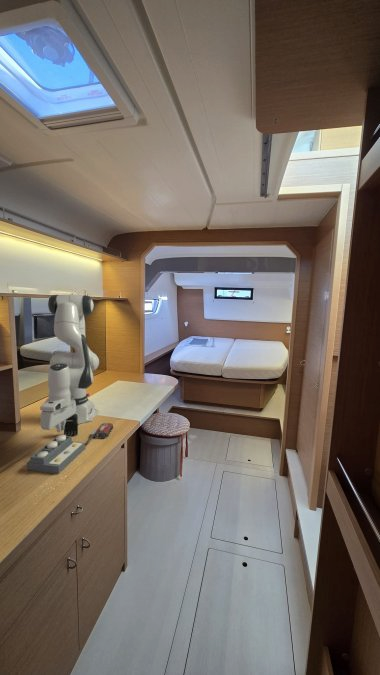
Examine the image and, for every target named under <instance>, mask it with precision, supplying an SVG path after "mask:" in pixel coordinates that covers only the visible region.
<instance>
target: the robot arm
mask: <svg viewBox="0 0 380 675" xmlns="http://www.w3.org/2000/svg"><path fill="white" fill-rule="evenodd" d="M48 298H49V299H48V301H47V302H48V303H47V308H48V310H49V312H50V314H52V315H54V322H53V323H54V324H53V331H54V332H53V334H54V336H55V337H56V339H58V340H59V341H60V342H62V343H65V344H66V345H67V346H69V347H71V348H73V350H74V351H75V352H60V353H55V354H53V355H52V356H51V358H50V360H49V369H48V375H47V387H48V398H46V399H45V401H44V402H43V403H42V404H41V405H40V407H39V409H40V410H39V411H41V413H40V427H41V429H42V430H44V431H51V430H52V429H53V428H56V432H57V433H61V432H62V431H63V432H64V426H65V423H66V419H68V418H69V417H71V416H72V415H74V414H75V413H77V414H78V425H80V424H84V423H89V422H92V421H93V420H94V419H93V418H96V416H97V415H98V414H99V412H100V410H99V409H97V408H96V406H95V403H94V402H92V401H91V400H90V399H89V398H90V397H91V393H90V392H89V393H88V392H87V389H88V388H90V387H91V386H92V385H93V383H94V373H93V372H94V371H96V370H97V369H98V368H99V365H100V359H99V357H98V355H97V354H96V353H94V351H92V350H91V349H90V347H89V346H88V341H87V339H86V338H87V337H86V321H85V318H87V317H88V316H90V315H91V314H92V313H93V311H94V310H93V309H94V306H95V305H94V301H93V298H92V297H91V296H89V295H86V294H85V295H82V294H81V295H80V294H74V293H73V294H72V293H71V294H53V295H51V296H50V297H48ZM98 411H99V412H98ZM97 413H98V414H97ZM96 414H97V415H96Z"/></svg>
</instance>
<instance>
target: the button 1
mask: <svg viewBox="0 0 380 675" xmlns="http://www.w3.org/2000/svg"><path fill="white" fill-rule="evenodd" d="M47 454H48V452H47V451H43V452H40V453H38V454H37V457H45V456H46V455H47Z"/></svg>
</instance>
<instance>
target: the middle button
mask: <svg viewBox="0 0 380 675" xmlns="http://www.w3.org/2000/svg"><path fill="white" fill-rule="evenodd" d="M46 445H47V449H52V450H54V449H55V448H56V447H57V446H58V443H57V441H52V440H51V441H49V442H47V443H46Z"/></svg>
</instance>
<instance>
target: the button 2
mask: <svg viewBox="0 0 380 675" xmlns="http://www.w3.org/2000/svg"><path fill="white" fill-rule="evenodd" d="M55 438H56V441H57V442H61V443H62V442H64V441H65V440H66V435H64V434H59V435H57V436H56V437H55Z"/></svg>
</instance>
